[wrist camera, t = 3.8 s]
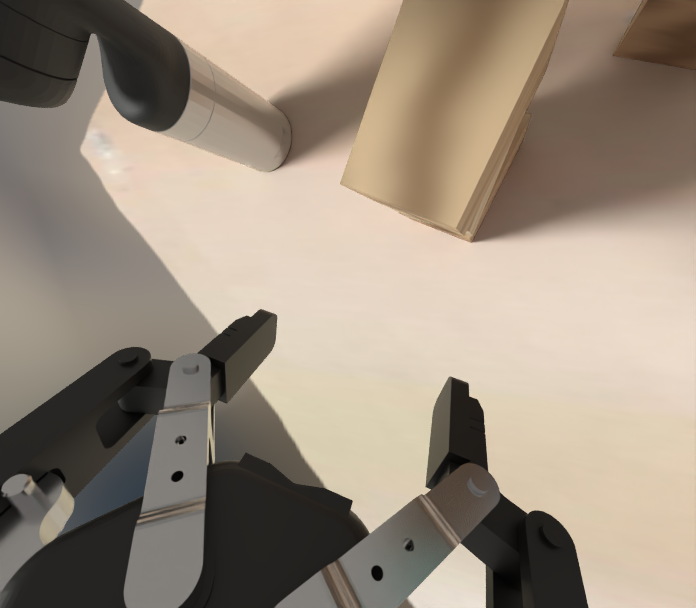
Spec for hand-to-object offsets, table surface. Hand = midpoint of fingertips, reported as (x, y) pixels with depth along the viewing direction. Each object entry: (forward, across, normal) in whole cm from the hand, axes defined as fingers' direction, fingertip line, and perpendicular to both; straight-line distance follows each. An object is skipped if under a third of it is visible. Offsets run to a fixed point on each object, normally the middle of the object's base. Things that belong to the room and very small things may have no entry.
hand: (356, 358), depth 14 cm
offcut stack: (+31, +4, +4) cm, 32 cm away
